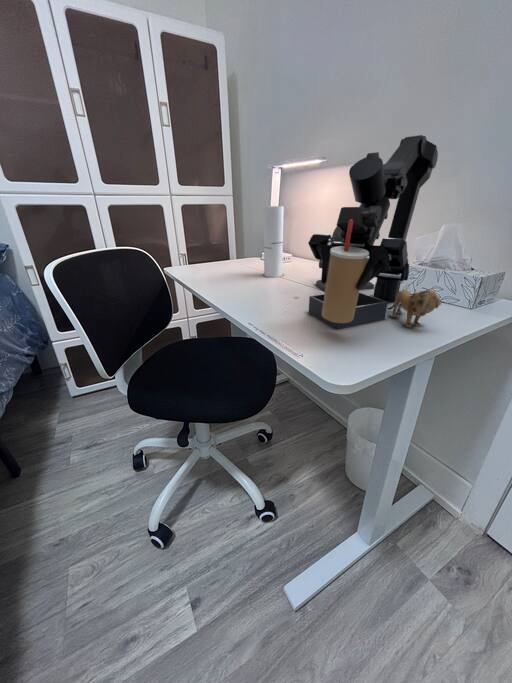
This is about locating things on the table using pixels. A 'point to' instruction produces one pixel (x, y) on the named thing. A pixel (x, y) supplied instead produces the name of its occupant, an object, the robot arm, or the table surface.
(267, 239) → the cylindrical container
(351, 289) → the takeaway cup
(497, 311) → the table surface
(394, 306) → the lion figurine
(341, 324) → the bin
